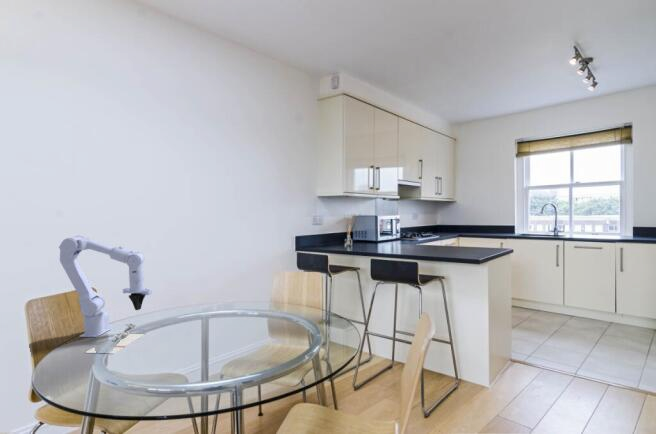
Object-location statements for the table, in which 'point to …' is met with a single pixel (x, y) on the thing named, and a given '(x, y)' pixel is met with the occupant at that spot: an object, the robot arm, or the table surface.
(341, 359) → the table surface
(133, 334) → the mat
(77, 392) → the table surface
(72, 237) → the robot arm
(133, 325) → the soldier figure
